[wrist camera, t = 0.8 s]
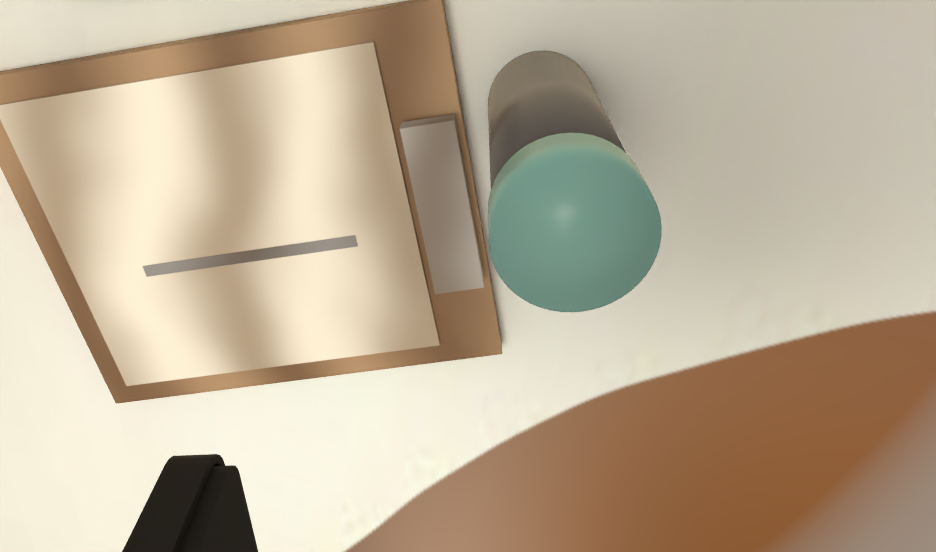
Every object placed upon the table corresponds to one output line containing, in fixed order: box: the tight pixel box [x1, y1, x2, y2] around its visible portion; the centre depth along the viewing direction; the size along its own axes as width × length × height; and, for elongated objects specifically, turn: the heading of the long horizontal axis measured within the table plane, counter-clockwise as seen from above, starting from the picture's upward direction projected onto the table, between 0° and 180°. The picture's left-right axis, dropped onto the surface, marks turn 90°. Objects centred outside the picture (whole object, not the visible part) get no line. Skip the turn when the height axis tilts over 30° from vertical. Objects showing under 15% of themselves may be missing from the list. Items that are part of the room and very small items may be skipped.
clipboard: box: [0, 0, 502, 403], centre depth 30 cm, size 18×15×2 cm
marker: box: [488, 51, 661, 312], centre depth 24 cm, size 4×4×12 cm
